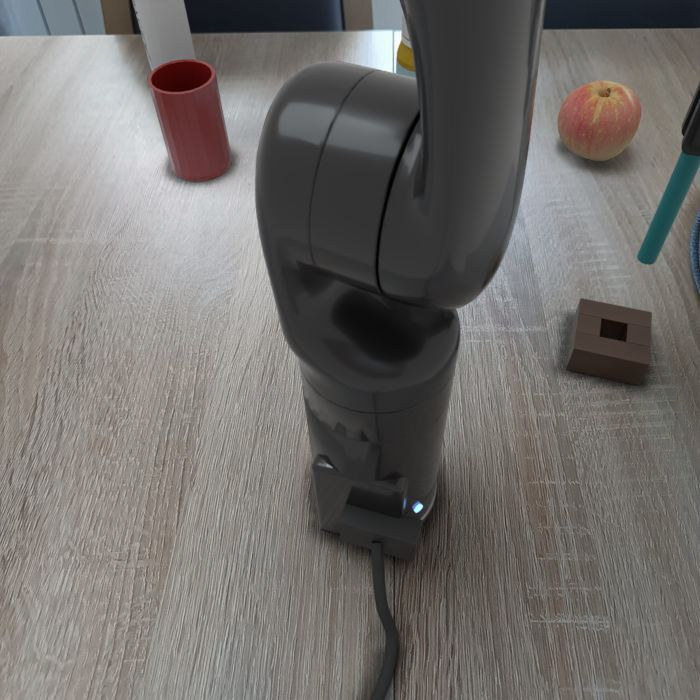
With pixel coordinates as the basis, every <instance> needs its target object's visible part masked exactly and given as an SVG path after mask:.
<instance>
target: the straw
mask: <svg viewBox="0 0 700 700" xmlns="http://www.w3.org/2000/svg"><path fill="white" fill-rule="evenodd" d="M699 169H700V156H694V155H687V154H684V153H683V152H682V151H681V152H680V155H679V156H678V159H677V161H676V163H675V166H674V168H673V171H672V174H671V175H670V177H669V180H668V182H667V185H666V187H665V190H664V192H663V193H662V196H661V198H660V201H659V202H658V206H657V208H656V210H655V212H654V215H653V217H652V220H651V222H650V224H649V227H648V229H647V231H646V233H645V236H644V238H643V241H642V243H641V245H640V248H639V250H638V253H637V255H636V259H637V260H638V262H640V263H641V264H643V265H654V264H655V263H656V262H657V259H658V258H659V256H660V253H661V251H662V249H663V247H664V244H665V243H666V240H667V238H668V236H669V234H670V232H671V229H672V228H673V225H674V223H675V221H676V219H677V216H678V214H679V212H680V210H681V207H682V206H683V203H684V201H685V199H686V197H687V194H688V192H689V191H690V189H691V186H692V183H693V181H694V179H695V177H696V176H697V174H698V171H699Z"/></svg>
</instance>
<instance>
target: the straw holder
mask: <svg viewBox="0 0 700 700" xmlns="http://www.w3.org/2000/svg"><path fill="white" fill-rule="evenodd" d="M652 322H653V312H652V311H648V310H643V309H638V308H633V307H628V306H623V305H618V304H613V303H608V302H603V301H598V300H594V299H588V298H583V297H581V298H580V299H579V302H578V304H577V307H576V310H575V313H574V315H573V318H572V322H571V331H570V336H569V337H570V338H569V343H568V352H567V358H566V365H565V370H566V371H571V372H576V373H579V374H585V375H589V376H594V377H597V378H601V379H608V380H611V381H616V382H621V383H625V384H630V385H632V386H633V385H634V386H640V384H641V382H642V380H643V378H644V377H645V375H646V373H647V371H648V369H649V368H650V365H651V350H652V349H651V347H652V326H653V325H652Z"/></svg>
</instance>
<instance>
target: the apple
mask: <svg viewBox="0 0 700 700" xmlns="http://www.w3.org/2000/svg"><path fill="white" fill-rule="evenodd" d="M641 119H642V105H641V100H640V98H639V97H638V95H637V94H636V93H635V92H634V91H633V90H632V89H631V88H630V87H628V86H627V85H624V84H621V83H618V82H616V81H612V80H596V81H591V82H588V83H585V84H583V85H580V86H578V87H577V88H575V89H574V90H572V91H571V92H570V93H569V94H568V95H567V96H566V98H565V99H564V101H563V102H562V104H561V105H560V108H559V112H558V115H557V132H558V135H559V139H560V141H561V142H562V145H564V147H565V148H566V150H567V149H568V151H570V152H571V153H573V154H574V155H577V157H580V158H583V159H587V160H590V161H597V162H603V161H604V162H605V161H608V160H611V159H613V158H615V157H616V156H618V155H619V154H621V153H622V152H623V151H624V150H625V149H626V148H627V147H628V146H629V145H630V143H631V142H632V140H633V139H634V137H635V135H636V133H637V132H638V129H639V126H640V123H641Z"/></svg>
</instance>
